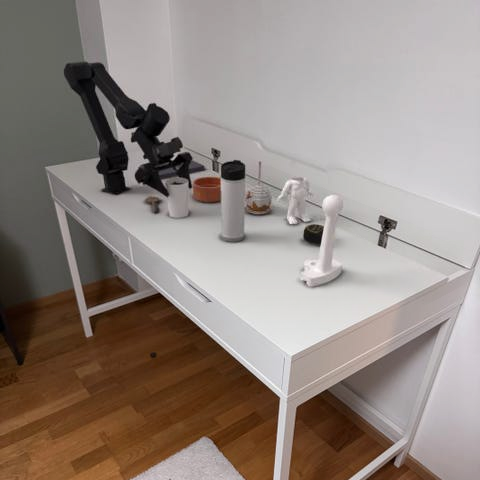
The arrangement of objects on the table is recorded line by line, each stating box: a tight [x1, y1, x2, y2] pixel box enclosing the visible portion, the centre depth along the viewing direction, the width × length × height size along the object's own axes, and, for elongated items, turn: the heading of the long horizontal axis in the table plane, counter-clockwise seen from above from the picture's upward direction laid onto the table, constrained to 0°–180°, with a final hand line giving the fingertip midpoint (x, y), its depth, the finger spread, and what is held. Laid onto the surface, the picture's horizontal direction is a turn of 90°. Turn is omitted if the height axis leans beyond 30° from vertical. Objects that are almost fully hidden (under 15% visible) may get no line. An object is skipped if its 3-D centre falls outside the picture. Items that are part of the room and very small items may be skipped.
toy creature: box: [276, 176, 314, 225], centre depth 134 cm, size 12×6×12 cm, turn 116°
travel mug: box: [220, 159, 246, 243], centre depth 122 cm, size 6×7×20 cm
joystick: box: [300, 194, 344, 288], centre depth 105 cm, size 11×8×20 cm
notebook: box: [137, 159, 205, 180], centre depth 173 cm, size 13×2×21 cm
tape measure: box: [302, 223, 324, 246], centre depth 125 cm, size 7×7×4 cm
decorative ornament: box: [245, 160, 273, 215], centre depth 139 cm, size 8×8×15 cm
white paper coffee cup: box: [165, 177, 190, 219], centre depth 137 cm, size 7×7×10 cm
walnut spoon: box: [144, 196, 161, 214], centre depth 144 cm, size 12×4×1 cm, turn 15°
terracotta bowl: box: [192, 176, 221, 203], centre depth 150 cm, size 11×11×5 cm
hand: (179, 192), depth 135 cm, fingers open, 9 cm apart
